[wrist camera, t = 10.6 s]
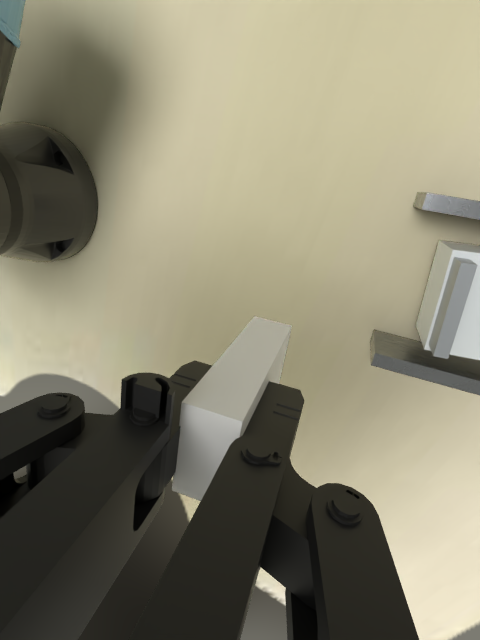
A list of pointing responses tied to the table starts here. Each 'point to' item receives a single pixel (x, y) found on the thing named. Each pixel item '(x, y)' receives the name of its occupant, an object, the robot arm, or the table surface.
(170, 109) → the table surface
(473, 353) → the white chamfered box
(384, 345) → the bay
